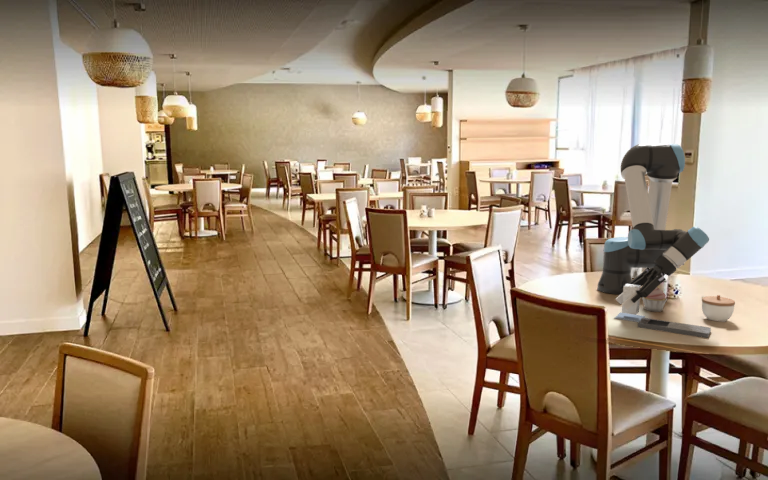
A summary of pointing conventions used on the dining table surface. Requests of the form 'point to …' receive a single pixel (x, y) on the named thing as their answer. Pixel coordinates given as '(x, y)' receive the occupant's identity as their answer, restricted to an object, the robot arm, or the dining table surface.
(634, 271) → the cup with straw
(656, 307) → the cupcake
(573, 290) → the dining table surface
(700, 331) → the rail
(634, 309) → the nut block
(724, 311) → the lidded jar
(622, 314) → the mat
